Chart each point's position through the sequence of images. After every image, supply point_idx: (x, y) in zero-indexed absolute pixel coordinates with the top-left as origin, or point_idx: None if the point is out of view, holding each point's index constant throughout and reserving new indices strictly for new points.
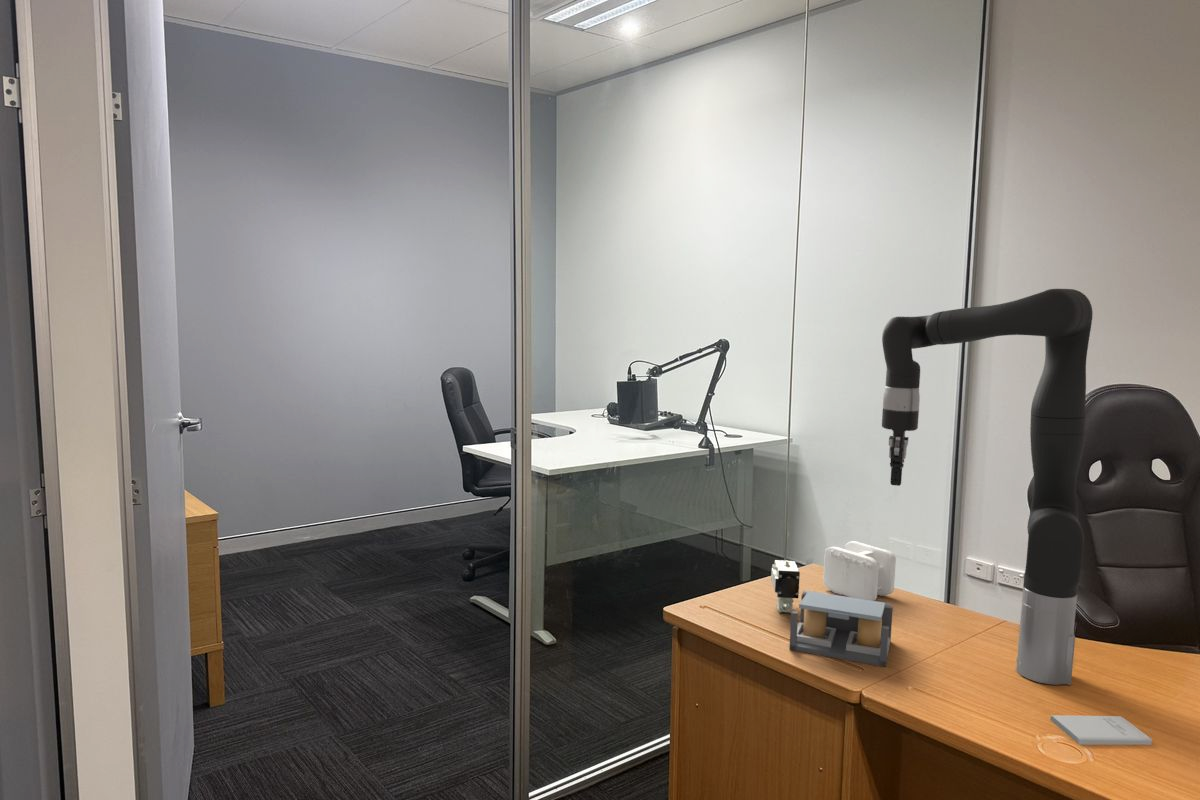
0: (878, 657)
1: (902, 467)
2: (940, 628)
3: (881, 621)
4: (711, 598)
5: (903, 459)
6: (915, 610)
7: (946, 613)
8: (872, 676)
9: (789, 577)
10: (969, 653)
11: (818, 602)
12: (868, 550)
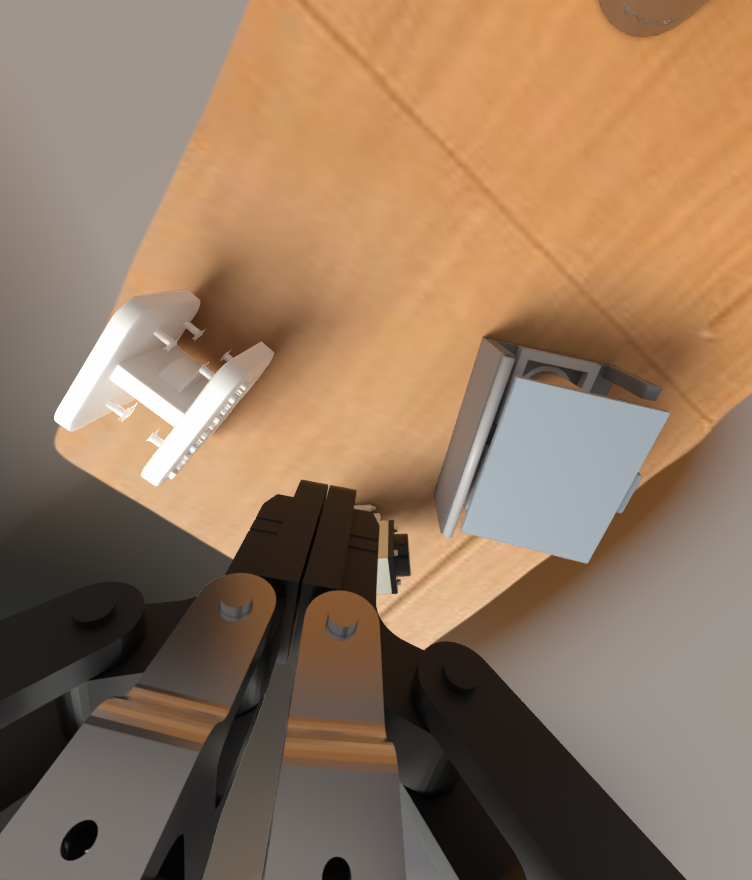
0: (596, 379)
1: (352, 610)
2: (375, 197)
3: (581, 389)
4: None
5: (387, 741)
6: (264, 242)
7: (257, 153)
8: None
9: (409, 569)
10: (528, 152)
11: (562, 526)
12: (109, 376)
